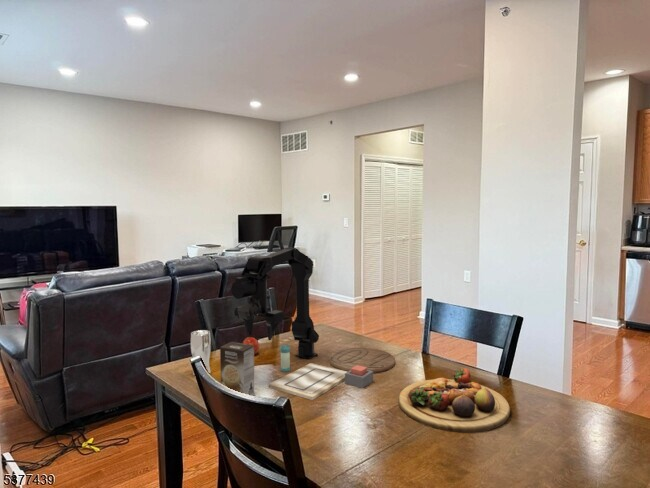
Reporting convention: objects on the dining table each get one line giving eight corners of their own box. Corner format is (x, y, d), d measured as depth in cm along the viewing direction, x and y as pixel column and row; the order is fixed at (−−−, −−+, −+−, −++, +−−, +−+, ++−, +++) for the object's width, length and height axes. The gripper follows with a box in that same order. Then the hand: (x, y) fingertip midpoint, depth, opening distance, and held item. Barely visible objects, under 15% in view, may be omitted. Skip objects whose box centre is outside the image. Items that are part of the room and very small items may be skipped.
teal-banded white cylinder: (284, 367, 166) (284, 344, 165) (291, 369, 164) (291, 345, 164) (278, 370, 163) (278, 346, 163) (286, 372, 161) (285, 348, 161)
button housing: (355, 376, 157) (355, 367, 157) (373, 381, 153) (373, 371, 153) (344, 383, 151) (344, 373, 151) (363, 388, 147) (363, 377, 147)
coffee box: (219, 396, 142) (218, 346, 140) (232, 388, 147) (231, 341, 146) (244, 401, 138) (242, 350, 136) (255, 393, 144) (254, 344, 142)
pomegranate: (245, 363, 177) (265, 347, 178) (233, 349, 177) (253, 333, 178) (246, 359, 185) (265, 343, 186) (235, 345, 184) (254, 329, 185)
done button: (356, 373, 155) (356, 365, 155) (367, 376, 153) (367, 367, 152) (350, 377, 152) (350, 368, 151) (361, 379, 149) (361, 371, 149)
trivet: (405, 359, 176) (405, 354, 176) (377, 380, 155) (377, 374, 155) (349, 348, 189) (349, 344, 189) (316, 366, 168) (316, 361, 168)
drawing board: (310, 365, 168) (310, 362, 168) (352, 375, 158) (352, 372, 158) (268, 387, 149) (268, 383, 149) (312, 400, 139) (312, 396, 138)
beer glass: (214, 370, 164) (213, 330, 163) (207, 377, 157) (206, 335, 156) (196, 369, 165) (194, 329, 164) (188, 376, 158) (187, 335, 157)
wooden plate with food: (434, 377, 157) (434, 354, 156) (528, 405, 134) (528, 378, 133) (376, 409, 135) (376, 382, 134) (477, 448, 112) (477, 416, 111)
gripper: (222, 294, 153) (223, 339, 154) (263, 301, 142) (264, 349, 144) (245, 289, 162) (246, 331, 163) (285, 294, 151) (286, 340, 153)
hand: (259, 337), depth 156 cm, fingers open, 9 cm apart
